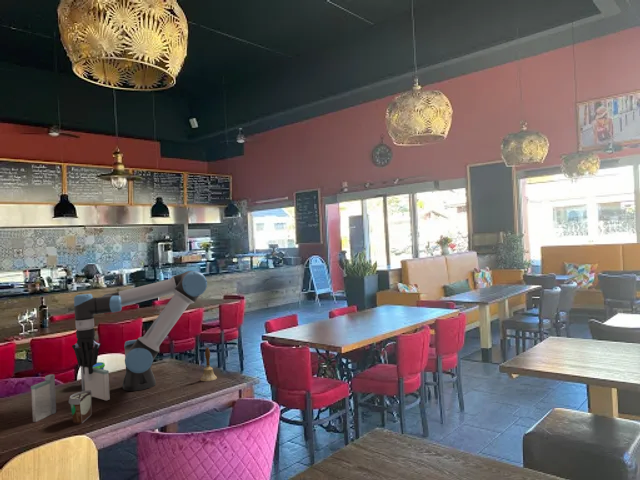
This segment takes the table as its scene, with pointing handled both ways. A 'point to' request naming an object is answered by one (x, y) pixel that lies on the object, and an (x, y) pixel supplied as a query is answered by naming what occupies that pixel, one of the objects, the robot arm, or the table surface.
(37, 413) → the fence
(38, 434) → the table surface
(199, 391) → the table surface
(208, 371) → the hand bell
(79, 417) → the food container
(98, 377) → the gate
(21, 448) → the table surface
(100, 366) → the snack cup
